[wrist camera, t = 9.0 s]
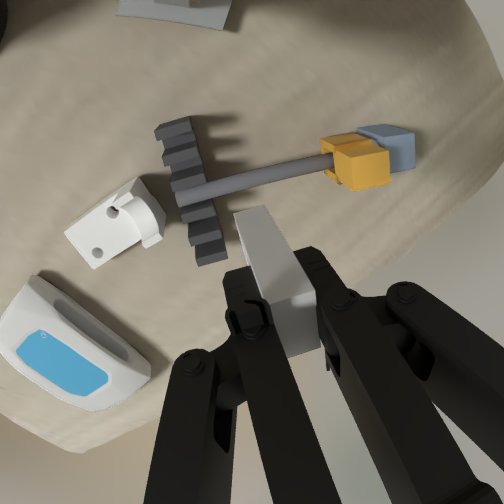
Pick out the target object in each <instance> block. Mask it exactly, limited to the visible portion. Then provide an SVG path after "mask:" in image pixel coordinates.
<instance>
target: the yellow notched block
mask: <svg viewBox="0 0 504 504" xmlns="http://www.w3.org/2000/svg"><path fill="white" fill-rule="evenodd" d="M320 145H321V152H322V154H326V153H331V152H333V158H334V166H335V168H331V169H326V170H324V174H326V175H327V176H328V177H330V178H331V179H332V180H334V181H335V182H337V183H338V184H339V185H341V184H344V185H345V186H347V187H348V188H349V189H351V190H352V191H353V192H355V191H360V190H364V189H368V188H372V187H376V186H381V185H385V184H389V183H390V160H389V150H386V149H384V148H381V147H379V146H377V145H374V144H372V143H371V139H368V138H366V137H363V136H360V135H358V134H355V133H348V134H342V135H337V136H331V137H326V138H321V139H320Z"/></svg>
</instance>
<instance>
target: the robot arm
mask: <svg viewBox="0 0 504 504" xmlns="http://www.w3.org/2000/svg"><path fill="white" fill-rule="evenodd" d="M6 21H7V5H6V1H5V0H0V41H1V39H2V36H3V33H4V30H5V26H6ZM233 215H234V218H235V222H236V226H237V229H238V233H239V237H240V240H241V244H242V248H243V251H244V255H245V259H246V262H247V265H248V266H246V267H242V268H239V269H235V270H232V271H229V272H226V273H225V276H224V279H223V281H222V282H223V287H224V291H225V296H226V301H227V306H228V309H227V310H226V312H225V319H226V322H227V324H228V327H229V330H230V332H231V335H230V336H229V338H228V340H227V341H226V342H225V343H224V344H222V345H221V346H219V347H218V348H216V349H215V350H213V351H211V352H208V351H206V350H204V349H192V350H188V351H186V352H185V353H183V354H181V355H180V356H179V357H178V358H177V359H176V360H175V362H174V365H173V367H172V371H171V375H170V379H169V383H168V387H167V392H166V396H165V400H164V405H163V409H162V414H161V418H160V423H159V427H158V432H157V436H156V441H155V446H154V451H153V456H152V461H151V465H150V471H149V477H148V481H147V486H146V492H145V497H144V503H143V504H230V500H231V486H232V473H233V459H234V444H235V432H236V418H237V406H238V405H240V404H242V403H243V402H245V401H247V403H248V407H249V411H250V415H251V419H252V423H253V427H254V432H255V435H256V439H257V443H258V447H259V451H260V455H261V459H262V462H263V467H264V470H265V474H266V478H267V482H268V485H269V489H270V493H271V496H272V500H273V504H342V503H341V500H340V497H339V495H338V492H337V490H336V487H335V484H334V482H333V479H332V476H331V474H330V471H329V469H328V466H327V463H326V461H325V458H324V455H323V453H322V450H321V447H320V445H319V442H318V439H317V437H316V434H315V431H314V429H313V426H312V423H311V421H310V418H309V415H308V413H307V410H306V407H305V405H304V402H303V400H302V397H301V394H300V391H299V389H298V386H297V383H296V381H295V378H294V376H293V373H292V370H291V367H290V365H289V362H288V360H287V358H290V357H293V356H296V355H299V354H302V353H305V352H308V351H311V350H314V349H317V348H320V347H321V343H320V339H321V341H322V343H323V345H324V347H325V358H326V368H327V371H329V370H330V368H331V370H332V372H333V374H334V377H335V378H336V380H337V383H338V385H339V387H340V389H341V391H342V394H343V396H344V398H345V400H346V402H347V404H348V406H349V409H350V411H351V413H352V415H353V417H354V419H355V422H356V424H357V426H358V428H359V430H360V433H361V435H362V437H363V439H364V442H365V444H366V446H367V448H368V450H369V453H370V455H371V457H372V459H373V462H374V464H375V466H376V468H377V470H378V473H379V475H380V477H381V479H382V482H383V484H384V486H385V488H386V491H387V493H388V495H389V498H390V500H391V502H392V504H503V503H502V501H501V499H500V497H499V495H498V494H497V492H496V491H495V489H494V488H493V487H491V486H490V485H489V484H487V483H484V482H481V481H479V480H478V479H477V478H476V477H475V475H474V474H473V472H472V470H471V468H470V466H469V465H468V463H467V461H466V459H465V457H464V456H463V454H462V452H461V450H460V448H459V447H458V445H457V443H456V441H455V440H454V438H453V436H452V435H451V433H450V431H449V429H448V428H447V426H446V424H445V423H444V421H443V419H442V418H441V416H440V414H439V413H438V411H437V410H436V408H435V406H434V405H433V403H434V404H435V405H436V406H437V407H438V408H439V409H440V410H441V411H442V412H443V413H445V415H447V416H448V417H449V418H450V419H451V420H452V421H453V422H454V423H455V424H456V425H457V426H458V427H459V428H460V429H461V430H462V431H463V432H464V433H465V434H466V435H467V436H468V437H469V438H470V439H471V440H472V441H474V443H475V444H476V445H477V446H479V448H481V450H483V452H485V453H486V454H487V455H488V456H489V457H490V458H491V459H492V460H493V461H494V462H495V463H496V464H497V465H498V466H499V467H500V468H501V469H502V470H503V471H504V348H503V347H502V346H501V345H500V344H498V343H497V342H496V341H494V340H493V339H492V338H490V337H489V336H488V335H487V334H485V333H484V332H483V331H481V330H480V329H479V328H477V327H476V326H475V325H473V324H472V323H471V322H469V321H468V320H467V319H465V318H464V317H463V316H461V315H460V314H459V313H457V312H456V311H454V310H453V309H452V308H450V307H449V306H448V305H446V304H445V303H443V302H442V301H440V300H439V299H438V298H436V297H435V296H434V295H432V294H431V293H429V292H428V291H426V290H425V289H424V288H422V287H421V286H419V285H417V284H415V283H412V282H407V281H405V282H398V283H395V284H393V285H392V286H391V287H389V289H388V290H387V294H386V296H377V297H363V296H361V295H360V294H358V293H357V292H356V291H354V290H352V289H349V288H347V287H346V286H345V284H344V283H343V282H342V280H341V279H340V277H339V276H338V274H337V273H336V272H335V270H334V269H333V267H332V266H331V265H330V263H329V262H328V260H326V258H325V256H324V255H323V254H322V252H321V251H320V250H318V249H316V248H314V247H312V246H310V247H306V248H303V249H300V250H296V251H292V250H291V248H290V246H289V245H288V243H287V241H286V240H285V238H284V236H283V235H282V233H281V231H280V230H279V228H278V226H277V225H276V223H275V221H274V220H273V218H272V216H271V215H270V213H269V212H268V210H267V208H266V207H265V205H261V206H258V207H254V208H250V209H247V210H243V211H240V212H236V213H233ZM432 402H433V403H432Z"/></svg>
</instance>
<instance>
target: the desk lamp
mask: <svg viewBox="0 0 504 504" xmlns="http://www.w3.org/2000/svg"><path fill="white" fill-rule="evenodd" d="M231 3H232V0H120V2H119V5H118V8H117V11H116V14H115V15H116V16H126V17H138V18H147V19H155V20H163V21H170V22H177V23H183V24H188V25H194V26H199V27H204V28H209V29H214V30H218V31H222V30H223V27H224V24H225V21H226V18H227V15H228V12H229V9H230V6H231Z"/></svg>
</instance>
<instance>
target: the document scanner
mask: <svg viewBox="0 0 504 504" xmlns="http://www.w3.org/2000/svg"><path fill="white" fill-rule="evenodd" d="M0 353H1V354H2V356H3V357H4V358H5V359H6V360H7V361H8V362H9V363H10V364H11V365H12V366H13V367H14V368H15V369H16V370H17V371H19V372H20V373H21V374H23V375H24V376H26V377H27V378H28V379H30V380H31V381H33V382H34V383H36V384H37V385H39V386H40V387H42V388H43V389H45V390H46V391H48V392H49V393H51V394H52V395H54V396H55V397H57V398H59V399H60V400H62V401H65V402H67V403H70V404H72V405H75V406H77V407H80V408H83V409H85V410H88V411H91V412H96V411H102V410H108V409H109V408H111V407H113V406H115V405H117V404H118V403H120V402H122V401H124V400H126V399H127V398H129V397H131V396H132V395H133V394H135V393H136V392H137V391H138V390H139V389H140V388H141V387H142V386H144V385H145V384H146V383H147V382H148V381H149V380H150V379H151V365H150V363H149V362H148V361H147V360H146V359H145V358H144V357H143V356H141V355H140V354H139V353H138V352H137V351H136V350H135V349H134V348H133V347H132V346H131V345H130V344H129V343H128V342H127V341H125V340H124V339H123V338H121V337H120V336H119V335H117V334H116V333H115V332H113V331H112V330H111V329H109V328H108V327H107V326H105V325H104V324H103V323H101V322H100V321H99V320H98V319H96V318H95V317H94V316H93V315H91V314H90V313H89V312H88V311H86V310H85V309H84V308H83V307H81V306H80V305H79V304H78V303H77V302H75V301H74V300H73V299H72V298H71V297H69V296H68V295H67V294H66V293H64V292H62V291H61V290H59V289H58V288H56V287H54V286H53V285H51V284H50V283H48V282H47V281H45V280H44V279H42V278H41V277H39V276H36V275H32V276H31V277H30V278H29V280H28V281H27V282H26V283H25V285H24V286H23V287H22V288H21V289H20V291H19V292H18V293H17V295H16V296H15V297H14V299H13V300H12V302H11V303H10V304H9V306H8V307H7V309H6V310H5V311H4V313H3V314H2V316H1V318H0Z"/></svg>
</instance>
